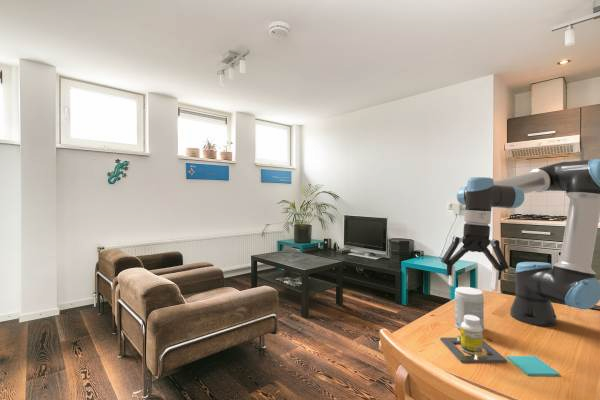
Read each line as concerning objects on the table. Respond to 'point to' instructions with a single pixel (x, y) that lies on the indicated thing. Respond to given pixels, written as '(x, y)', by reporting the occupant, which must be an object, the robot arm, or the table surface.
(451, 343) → the socket plate
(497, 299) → the table surface
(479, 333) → the pill bottle
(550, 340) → the table surface
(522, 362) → the coaster
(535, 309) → the robot arm
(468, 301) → the supplement tub
